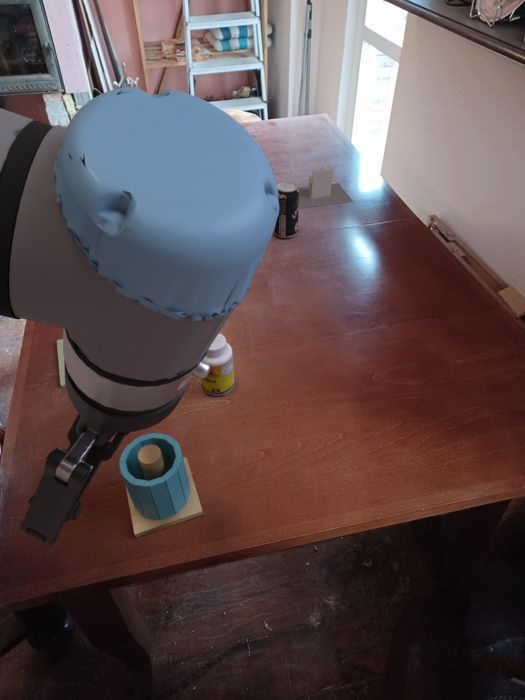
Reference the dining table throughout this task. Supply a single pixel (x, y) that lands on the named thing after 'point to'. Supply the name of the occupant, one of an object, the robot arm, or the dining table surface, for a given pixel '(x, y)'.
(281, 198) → the beverage can
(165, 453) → the ring
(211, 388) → the supplement bottle
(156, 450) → the stand
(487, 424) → the dining table surface
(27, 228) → the robot arm
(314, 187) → the architectural model
